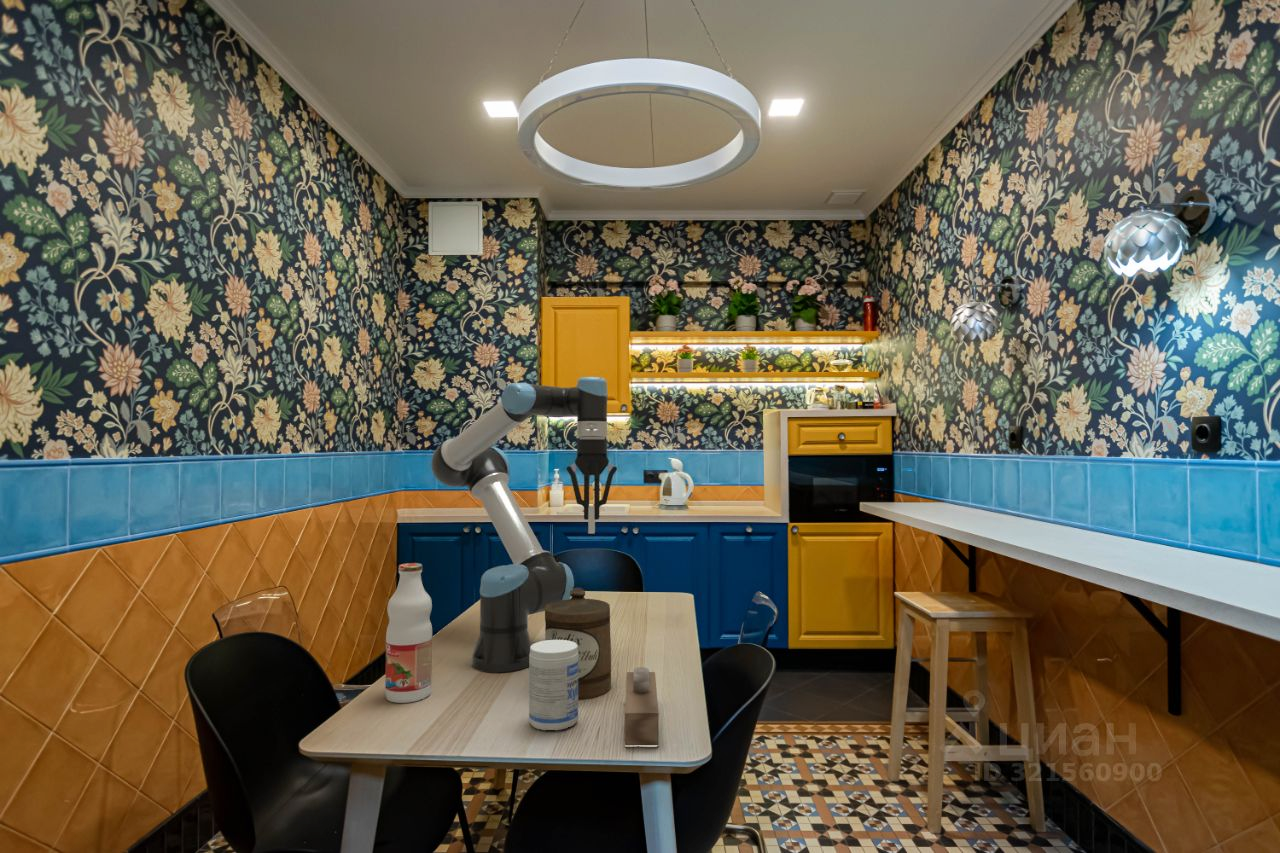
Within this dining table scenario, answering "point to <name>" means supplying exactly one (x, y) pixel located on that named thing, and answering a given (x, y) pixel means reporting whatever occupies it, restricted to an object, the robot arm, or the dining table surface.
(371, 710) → the dining table surface
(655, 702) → the bench stop
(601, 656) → the wooden container
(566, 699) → the supplement tub
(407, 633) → the fruit juice
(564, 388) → the robot arm
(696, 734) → the dining table surface
